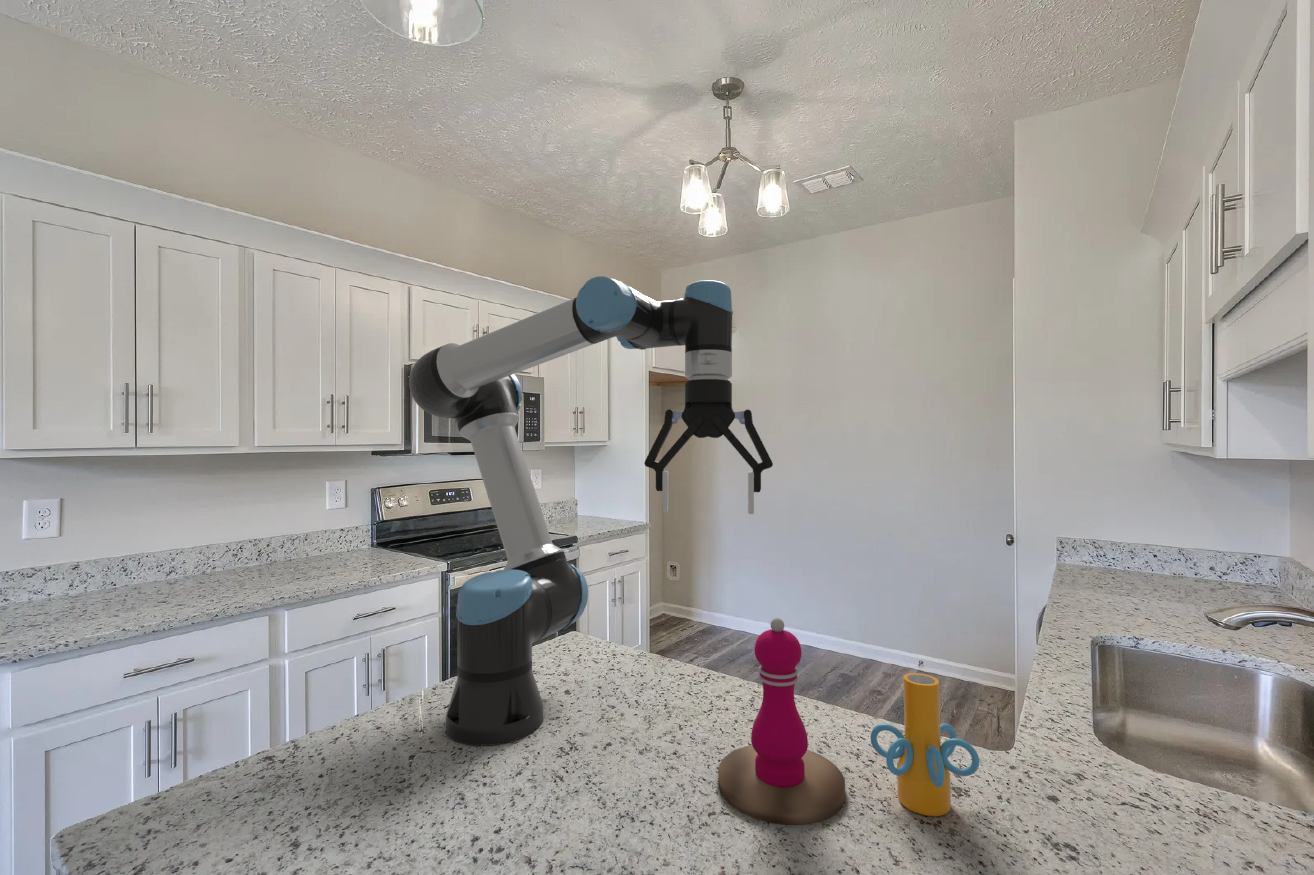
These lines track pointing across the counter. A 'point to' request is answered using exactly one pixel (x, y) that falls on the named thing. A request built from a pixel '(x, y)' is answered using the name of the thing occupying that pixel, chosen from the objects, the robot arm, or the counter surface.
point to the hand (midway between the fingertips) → (707, 512)
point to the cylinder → (923, 750)
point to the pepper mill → (778, 710)
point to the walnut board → (782, 790)
